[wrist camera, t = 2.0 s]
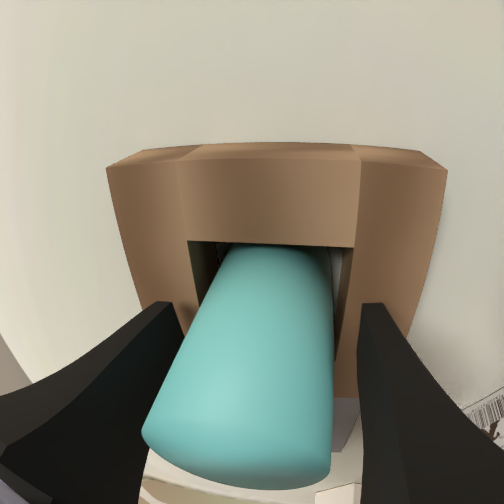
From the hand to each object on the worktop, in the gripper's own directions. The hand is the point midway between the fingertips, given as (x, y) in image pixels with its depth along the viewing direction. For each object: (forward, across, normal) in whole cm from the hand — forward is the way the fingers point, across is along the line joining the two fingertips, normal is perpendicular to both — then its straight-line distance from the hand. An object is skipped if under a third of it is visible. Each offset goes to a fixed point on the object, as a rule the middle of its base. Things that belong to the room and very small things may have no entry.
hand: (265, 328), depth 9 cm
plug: (+3, 0, 0) cm, 3 cm away
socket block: (+3, 0, 0) cm, 3 cm away
